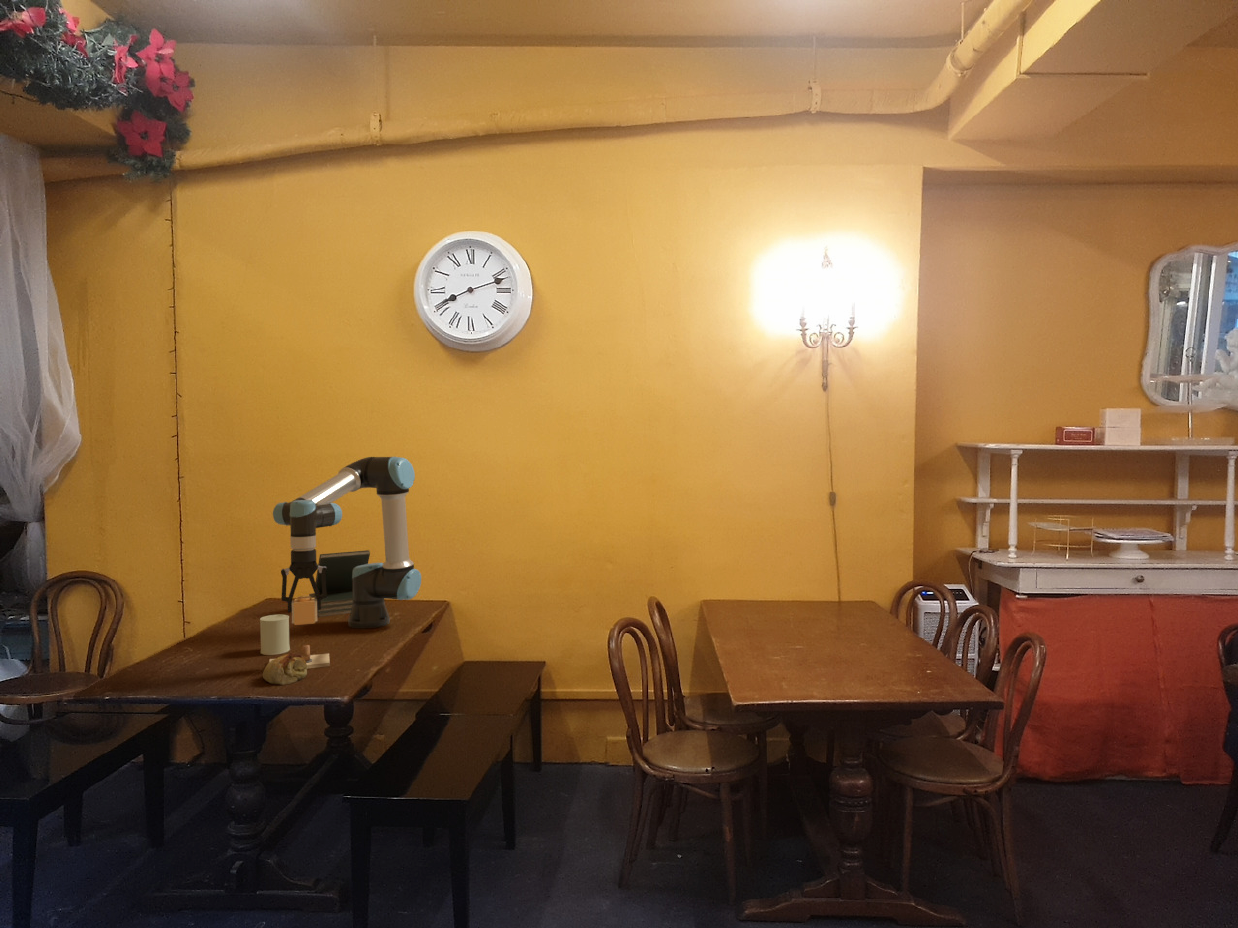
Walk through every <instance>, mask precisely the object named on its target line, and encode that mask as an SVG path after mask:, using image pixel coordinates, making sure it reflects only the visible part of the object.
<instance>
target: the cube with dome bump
mask: <svg viewBox="0 0 1238 928" xmlns="http://www.w3.org/2000/svg"><path fill="white" fill-rule="evenodd" d="M293 599H294V598H293ZM293 601H294V623H293V624H294V626H298V625H299V626H300V625H312V624H316V622H315V598H311V596H309V595H303V596H302V595H301V596H297V598H295V599H294V600H293Z"/></svg>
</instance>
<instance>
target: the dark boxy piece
mask: <svg viewBox="0 0 1238 928" xmlns="http://www.w3.org/2000/svg"><path fill="white" fill-rule="evenodd" d="M370 556H371V552H370V550H369V549H367V550H355V551H354V550H353V551H344V552H334V553H332V552H331V553H320V554H319V559H318V562H317V564H318V566H322V567H324V566H325V567H326V573H325V581H326V592H327V597H326V598H324V599H322V600H321V610H317V618H318V617H319V618H322V617H329V616H330V617H331V616H337V615H346V614H350V613H351V610H352V606H353V589H352V573H353V569H354V568H355V567H357V566H360V565H365V564H369V561H370ZM315 582H316V585H317V588H318V590H319V593H320V595H322V594H323V593H322V582H321V573H319V570H318V569H317V570H316V576H315ZM308 596H311V598H315V600H316V599H317V598H316V596H315V593H309V594H308Z"/></svg>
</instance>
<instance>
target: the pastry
mask: <svg viewBox="0 0 1238 928" xmlns="http://www.w3.org/2000/svg"><path fill="white" fill-rule="evenodd" d="M273 659H274V660H272V661H270V660H269V661H270V662H268V663H267V664H266V665H265V668H264V669H263V671H262V678H263V679H264V680H265V681H266V682H267V683H269V684H272V685H273V684H274V685H278V686H287V685H291V684H294V683H296V682H298V681H300V680H302V679H305V678H306V676H307V674H308V669H307V664H306V662H305V660H304V659H303V657H302V654H300V653H297V652H290V653H286V654H282V655H281V656H278V657H276V658H273Z"/></svg>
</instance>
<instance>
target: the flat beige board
mask: <svg viewBox="0 0 1238 928" xmlns="http://www.w3.org/2000/svg"><path fill="white" fill-rule="evenodd" d="M301 656H302V657H303V659H304V660H305V662H306V664H307V670H308V669H309V670H310V669H315V668H316V669H317V668H328V667H330V666H331V663H330V653H329V652H328V653H321V654H318V653H317V654H311V645H309V644H304V645H301ZM274 659H275V658H269V660H268V661H269V662H270V661H272V660H274ZM269 662H268V663H269Z"/></svg>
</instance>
